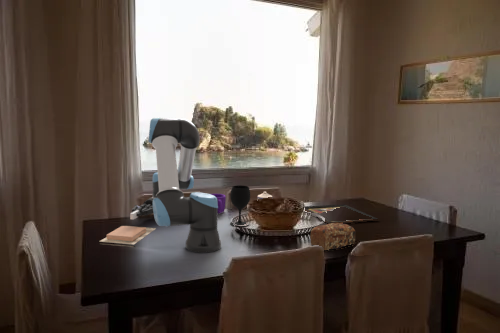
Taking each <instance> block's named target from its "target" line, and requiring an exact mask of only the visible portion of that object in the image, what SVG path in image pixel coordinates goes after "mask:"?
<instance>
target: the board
mask: <svg viewBox="0 0 500 333" xmlns="http://www.w3.org/2000/svg"><path fill="white" fill-rule="evenodd" d="M130 226H131V227H135V226H133V225H130ZM143 227H144V228H146V232H145V233H144V234H142V235H141V236H139V237H138V238H137V239H135V240H134V241H132V242H128V241H116V240H108V239H107V236H106V237H105V238H103V239H101V240H99V242H100V243H99V245H107V246H114V247H115V246H116V247H129V248H135V247H136V246H135V245H136V244H137V243H139V242H140V241H142V239H144V238H145V237H147V236H148V235H149V234H151V233H152V232H154V231H155V230H156V229H157V228H156V227H145V226H143ZM111 243H112V244H111ZM113 243H114V244H113Z"/></svg>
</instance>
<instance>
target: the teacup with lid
mask: <svg viewBox="0 0 500 333" xmlns="http://www.w3.org/2000/svg"><path fill="white" fill-rule="evenodd" d="M268 197H272V198H273V195H271V194H269V193H267V191H263V193H261V194H258V195H257V200H258V199H263V198H268Z"/></svg>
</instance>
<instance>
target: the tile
mask: <svg viewBox="0 0 500 333" xmlns="http://www.w3.org/2000/svg"><path fill="white" fill-rule="evenodd" d="M131 226H132V225H121V226H119V227H118V228H115V229H114V230H113V231H111V232H108V233H107V234H106V237H107V239H108V240H116V241H128V242H132V241H134V240H135V239H137V238H138V237H139V236H141V235H142V234H144V233H145V232H146V228H144V227H145V226H134V227H131Z"/></svg>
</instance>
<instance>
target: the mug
mask: <svg viewBox="0 0 500 333" xmlns="http://www.w3.org/2000/svg"><path fill="white" fill-rule="evenodd" d="M210 194H211V195H214V196H215V197H216V198H217V202H218V215H219V214H222V213H224V212H225V209H226V195H225V194H223V193H210Z"/></svg>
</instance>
